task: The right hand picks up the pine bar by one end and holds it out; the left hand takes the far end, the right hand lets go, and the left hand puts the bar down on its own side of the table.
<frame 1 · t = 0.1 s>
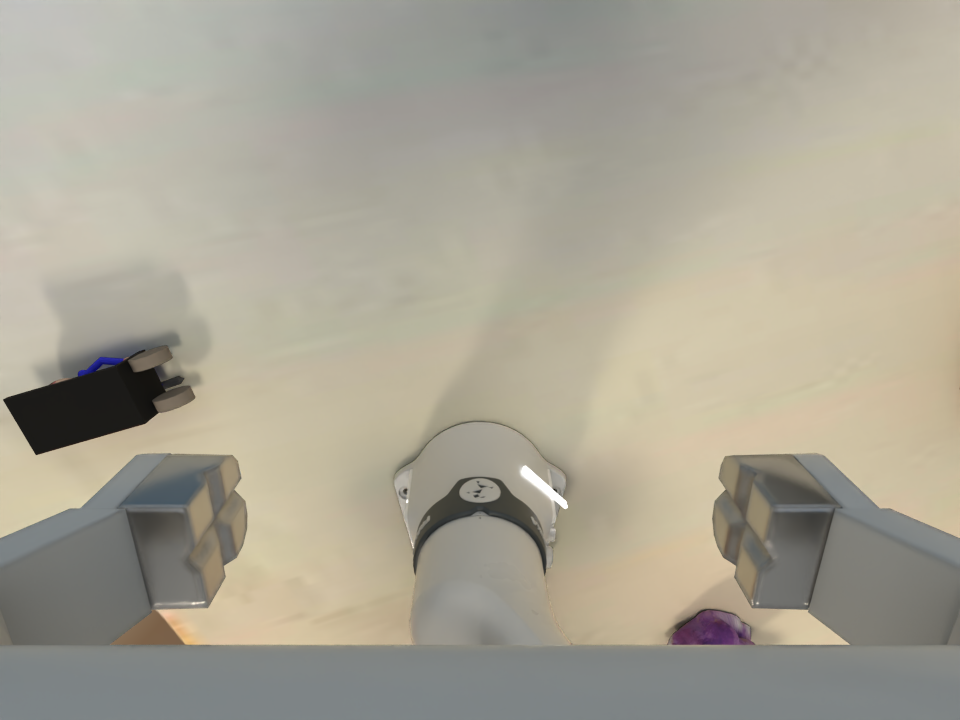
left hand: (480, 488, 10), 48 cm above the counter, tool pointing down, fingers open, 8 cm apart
figurine character: (130, 378, 62), on the counter
figurine: (714, 630, 74), on the counter
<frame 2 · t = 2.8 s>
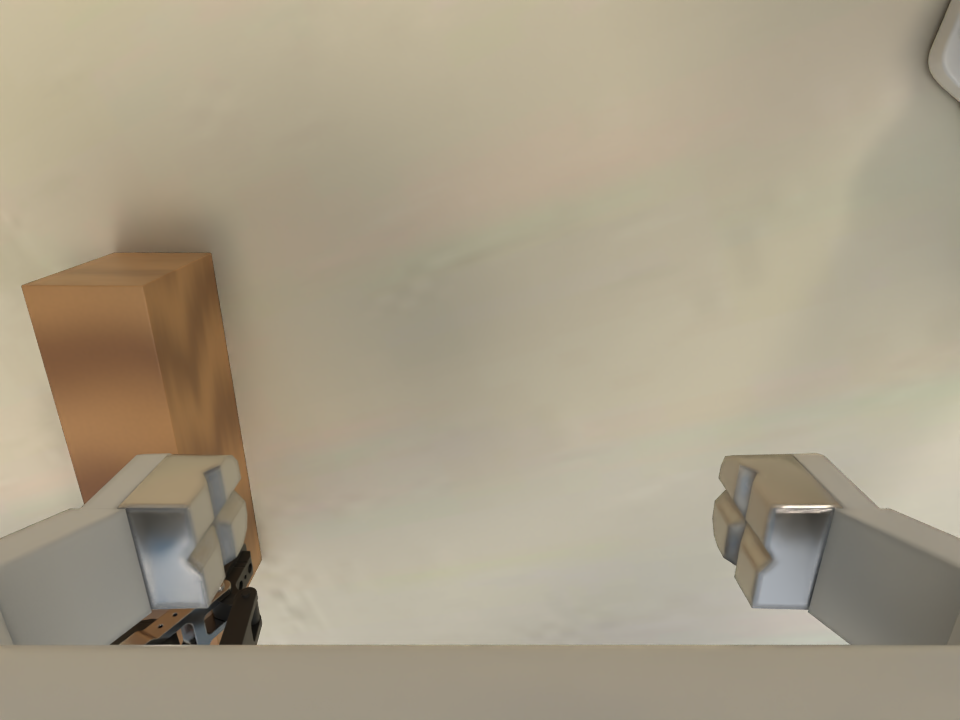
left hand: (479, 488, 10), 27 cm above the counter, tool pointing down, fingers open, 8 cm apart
bar: (195, 422, 41), on the counter, touching right hand
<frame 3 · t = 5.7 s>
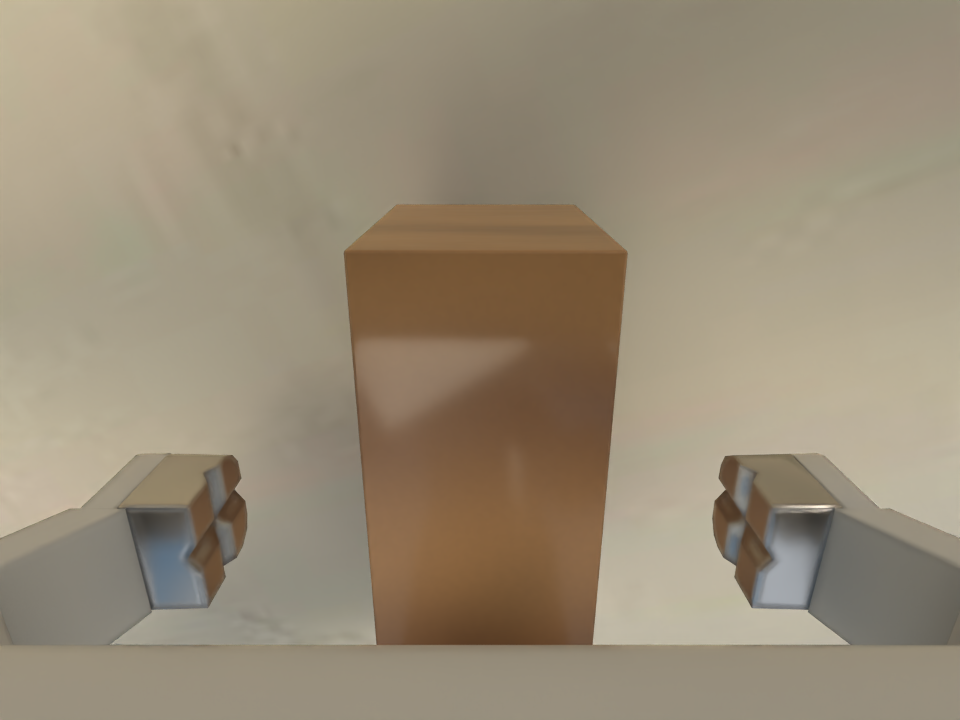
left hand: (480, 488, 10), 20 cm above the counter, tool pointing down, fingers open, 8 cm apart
bar: (484, 500, 24), point 8 cm above the counter, touching right hand
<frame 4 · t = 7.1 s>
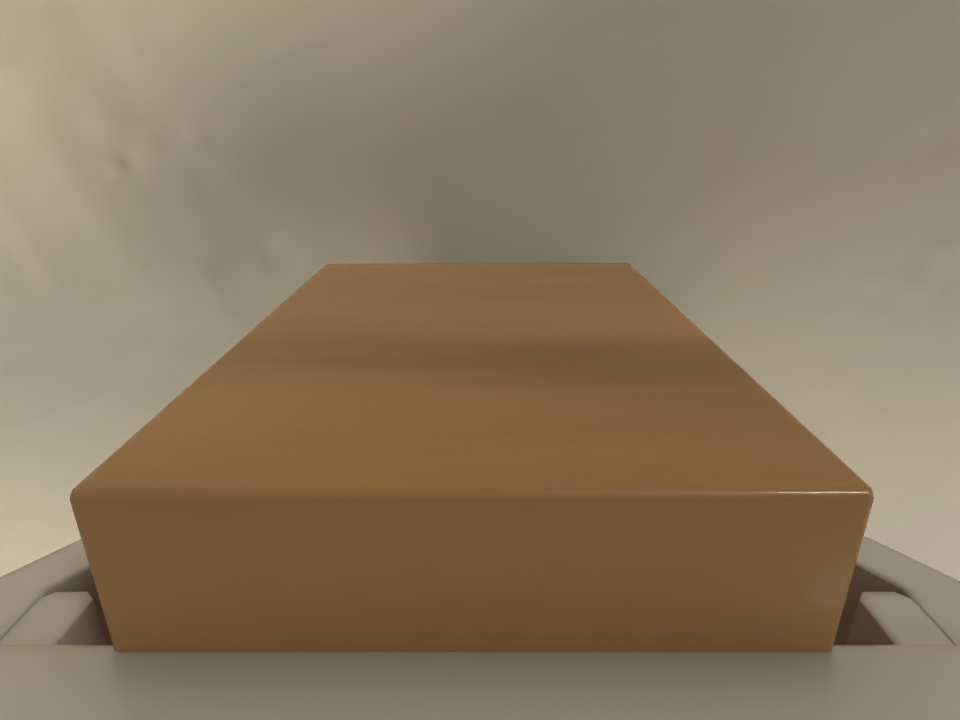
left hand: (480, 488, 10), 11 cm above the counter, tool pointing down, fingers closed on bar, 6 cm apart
bar: (479, 694, 16), point 8 cm above the counter, touching left hand, right hand
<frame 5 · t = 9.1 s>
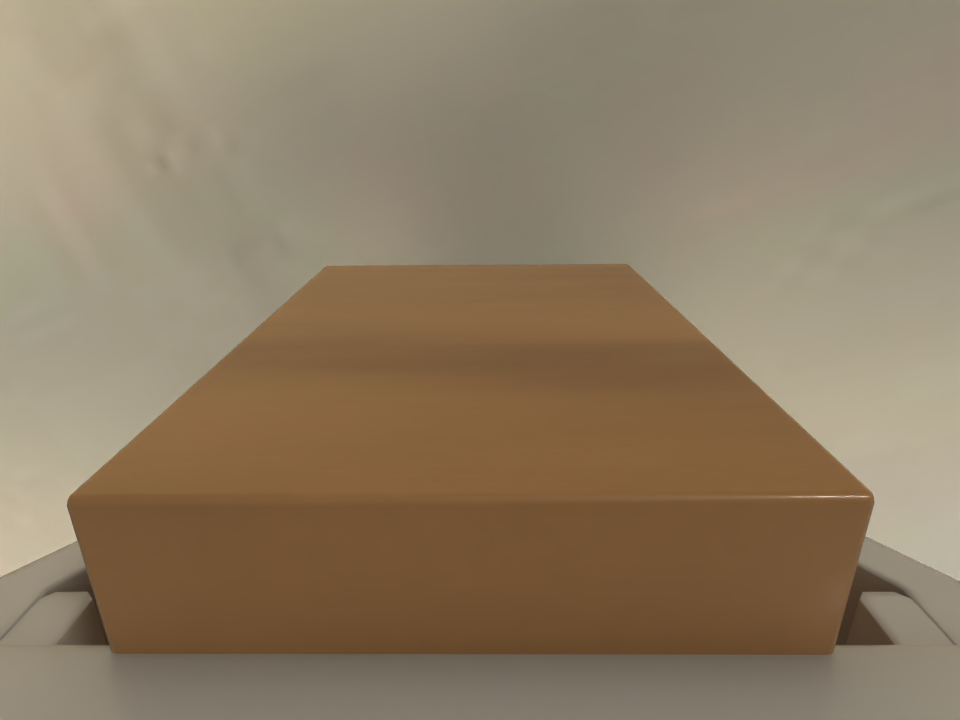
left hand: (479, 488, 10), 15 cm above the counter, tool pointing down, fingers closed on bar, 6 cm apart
bar: (480, 695, 16), point 12 cm above the counter, touching left hand
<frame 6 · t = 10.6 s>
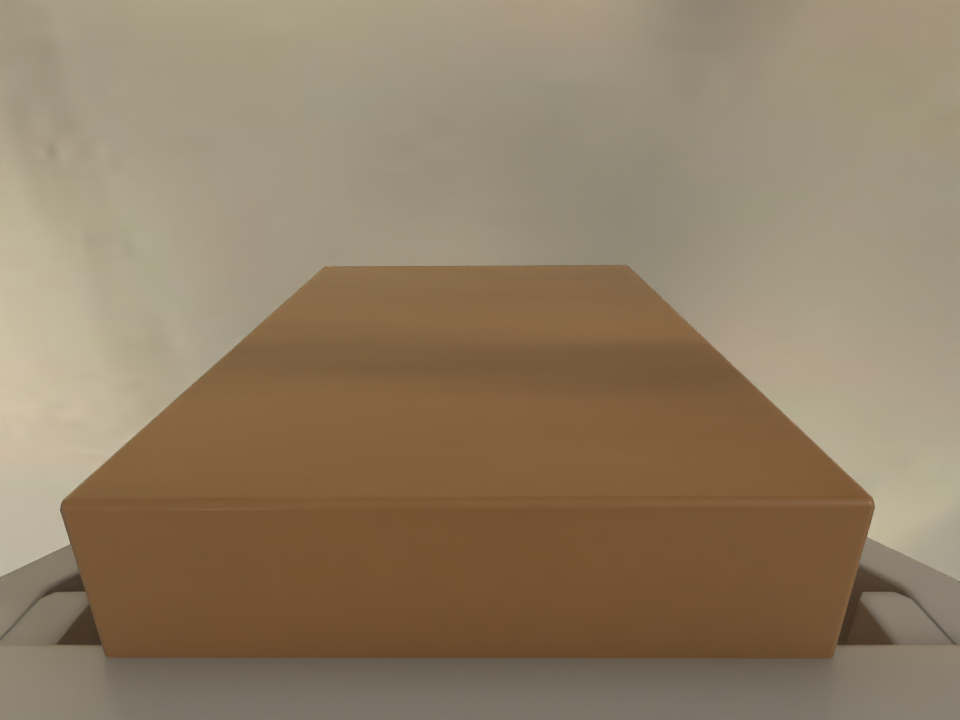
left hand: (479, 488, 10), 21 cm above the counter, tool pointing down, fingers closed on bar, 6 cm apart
bar: (479, 697, 16), point 18 cm above the counter, touching left hand
when the left hand's fingers open (4 cm above the counter, at t = 14.1 s): bar stays where it is, on the counter.
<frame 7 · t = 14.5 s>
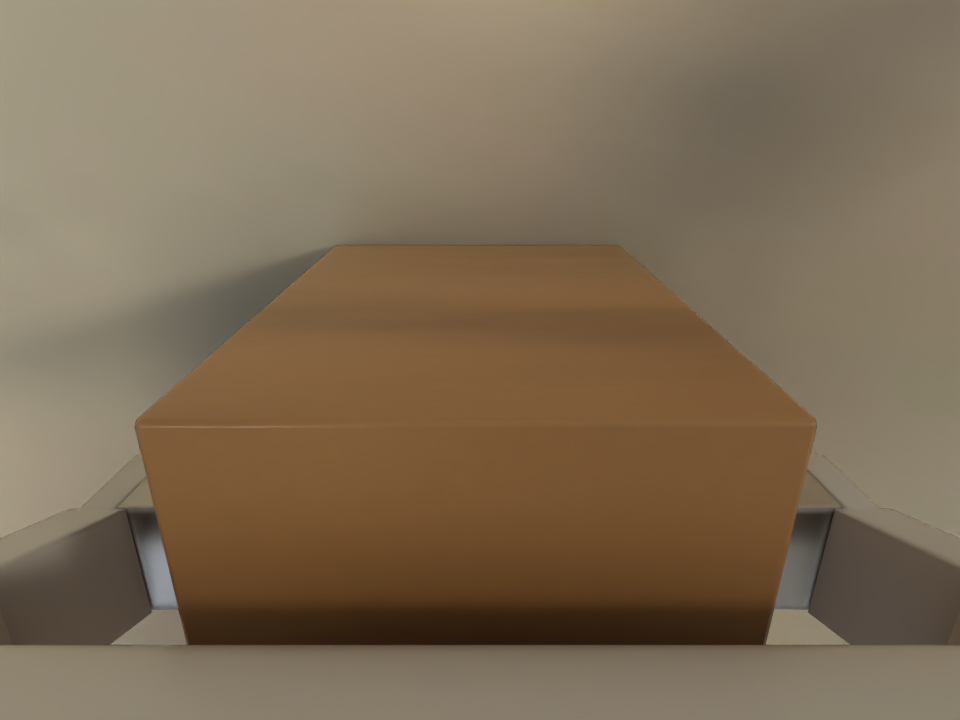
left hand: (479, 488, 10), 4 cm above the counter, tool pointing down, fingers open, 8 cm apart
bar: (477, 657, 17), on the counter
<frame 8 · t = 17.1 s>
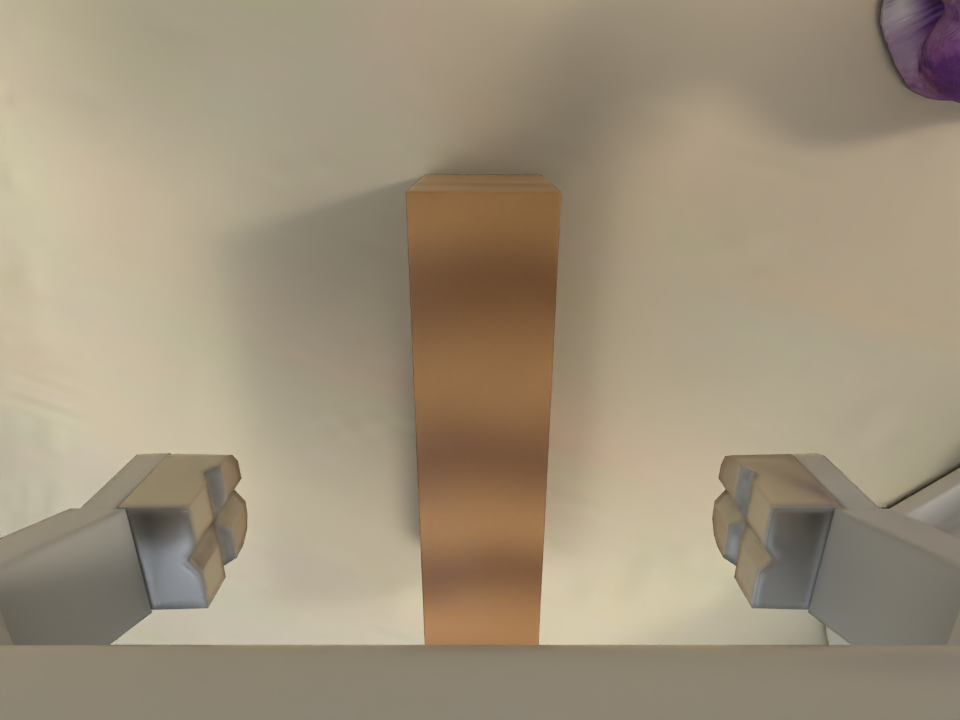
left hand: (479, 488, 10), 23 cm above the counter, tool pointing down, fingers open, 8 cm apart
figurine: (953, 3, 27), on the counter
bar: (482, 384, 34), on the counter
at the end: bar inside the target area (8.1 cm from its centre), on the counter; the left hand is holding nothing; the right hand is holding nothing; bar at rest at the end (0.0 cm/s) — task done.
